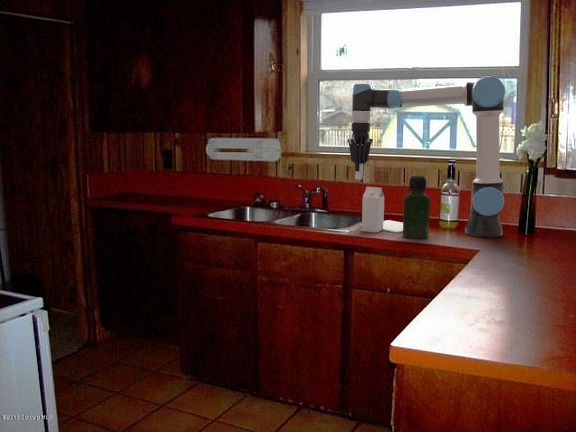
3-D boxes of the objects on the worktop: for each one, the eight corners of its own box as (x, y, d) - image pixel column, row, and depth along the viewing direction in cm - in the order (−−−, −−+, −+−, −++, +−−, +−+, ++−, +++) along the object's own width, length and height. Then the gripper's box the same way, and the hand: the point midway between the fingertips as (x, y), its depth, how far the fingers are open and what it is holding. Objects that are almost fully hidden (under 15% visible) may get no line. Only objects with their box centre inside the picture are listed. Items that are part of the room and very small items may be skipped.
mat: (426, 228, 278) (426, 226, 278) (397, 233, 266) (397, 231, 266) (388, 221, 295) (388, 220, 295) (359, 225, 283) (359, 224, 283)
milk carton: (368, 228, 276) (369, 185, 272) (383, 230, 272) (384, 187, 269) (361, 231, 270) (362, 187, 266) (376, 233, 266) (378, 188, 263)
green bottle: (429, 235, 262) (432, 175, 258) (426, 240, 252) (429, 178, 248) (404, 233, 265) (407, 174, 261) (400, 238, 255) (403, 177, 251)
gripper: (365, 121, 264) (363, 177, 268) (343, 121, 256) (341, 179, 260) (378, 122, 259) (376, 179, 263) (356, 122, 251) (354, 180, 254)
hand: (358, 179), depth 261 cm, fingers closed
